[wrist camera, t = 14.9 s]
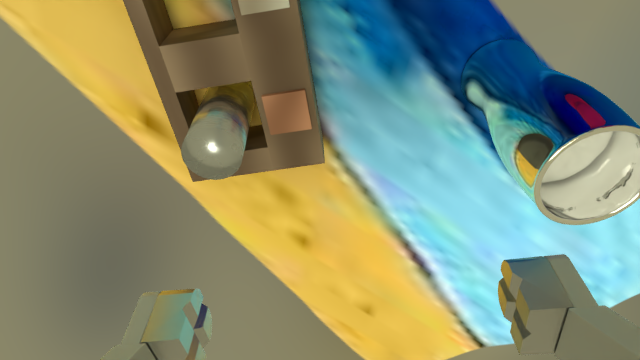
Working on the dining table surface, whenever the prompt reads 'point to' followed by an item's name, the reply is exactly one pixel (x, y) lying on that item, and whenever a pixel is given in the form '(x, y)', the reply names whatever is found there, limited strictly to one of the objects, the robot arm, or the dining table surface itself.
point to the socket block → (239, 75)
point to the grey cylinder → (219, 131)
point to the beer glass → (555, 134)
